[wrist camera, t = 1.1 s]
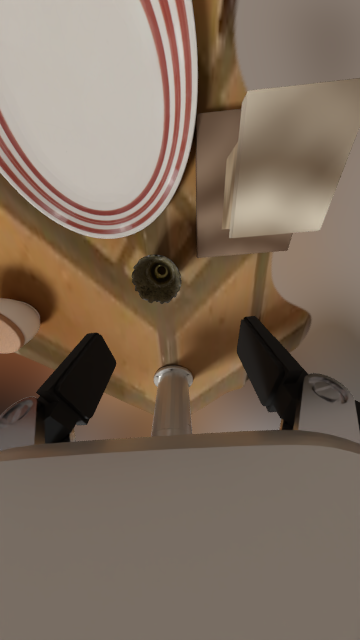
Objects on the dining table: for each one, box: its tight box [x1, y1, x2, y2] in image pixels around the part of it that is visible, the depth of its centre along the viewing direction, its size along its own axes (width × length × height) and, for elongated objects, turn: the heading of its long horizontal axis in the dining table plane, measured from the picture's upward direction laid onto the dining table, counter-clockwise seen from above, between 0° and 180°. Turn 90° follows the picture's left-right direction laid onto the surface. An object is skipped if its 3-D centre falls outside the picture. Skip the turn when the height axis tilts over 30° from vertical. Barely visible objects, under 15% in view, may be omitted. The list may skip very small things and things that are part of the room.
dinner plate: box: [0, 0, 198, 239], centre depth 16 cm, size 27×27×3 cm
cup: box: [132, 255, 181, 304], centre depth 24 cm, size 8×7×8 cm
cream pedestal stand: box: [195, 78, 360, 258], centre depth 18 cm, size 16×16×10 cm
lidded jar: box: [0, 298, 40, 353], centre depth 28 cm, size 11×11×9 cm
